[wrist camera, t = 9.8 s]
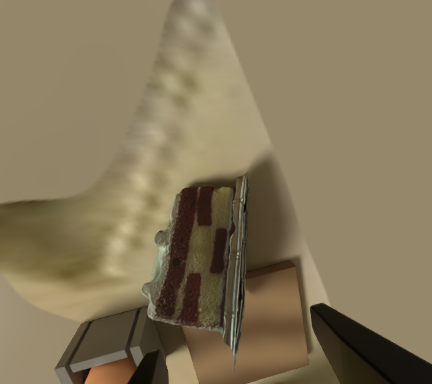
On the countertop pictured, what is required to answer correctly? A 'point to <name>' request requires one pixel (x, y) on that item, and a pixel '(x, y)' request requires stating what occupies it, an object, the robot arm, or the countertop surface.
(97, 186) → the countertop surface
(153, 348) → the housing
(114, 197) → the countertop surface
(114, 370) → the brown egg
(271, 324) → the serving board
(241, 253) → the chocolate cake
